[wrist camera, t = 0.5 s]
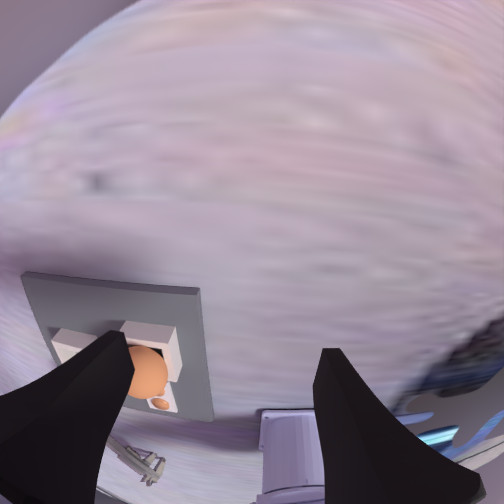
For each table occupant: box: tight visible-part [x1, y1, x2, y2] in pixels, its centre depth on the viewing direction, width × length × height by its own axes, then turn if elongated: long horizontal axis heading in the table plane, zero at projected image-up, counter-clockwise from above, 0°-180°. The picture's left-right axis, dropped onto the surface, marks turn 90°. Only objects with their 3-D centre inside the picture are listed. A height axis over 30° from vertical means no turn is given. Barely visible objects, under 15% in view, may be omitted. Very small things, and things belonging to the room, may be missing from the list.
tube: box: [120, 321, 182, 382], centre depth 20 cm, size 4×4×2 cm
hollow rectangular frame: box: [51, 328, 97, 364], centre depth 22 cm, size 10×4×2 cm, turn 179°
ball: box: [128, 346, 168, 399], centre depth 18 cm, size 4×4×4 cm
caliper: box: [106, 435, 166, 486], centre depth 28 cm, size 20×1×6 cm, turn 41°
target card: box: [147, 381, 178, 413], centre depth 23 cm, size 5×3×1 cm, turn 179°
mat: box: [20, 272, 214, 422], centre depth 23 cm, size 16×18×1 cm
